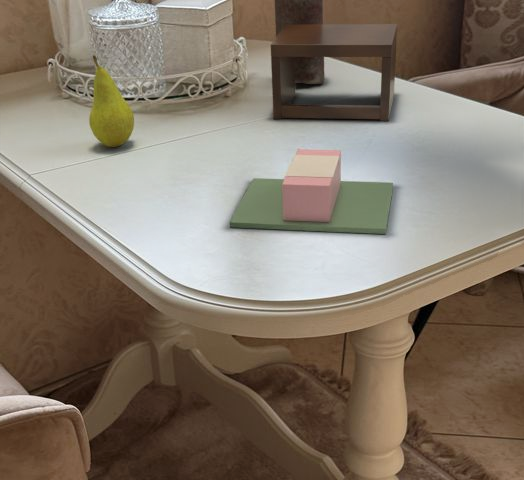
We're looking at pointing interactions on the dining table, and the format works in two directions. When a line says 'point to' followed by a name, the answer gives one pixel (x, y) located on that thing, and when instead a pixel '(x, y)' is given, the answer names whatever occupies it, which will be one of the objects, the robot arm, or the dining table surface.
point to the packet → (311, 185)
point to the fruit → (109, 111)
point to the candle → (302, 12)
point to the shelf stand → (331, 45)
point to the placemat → (342, 220)
